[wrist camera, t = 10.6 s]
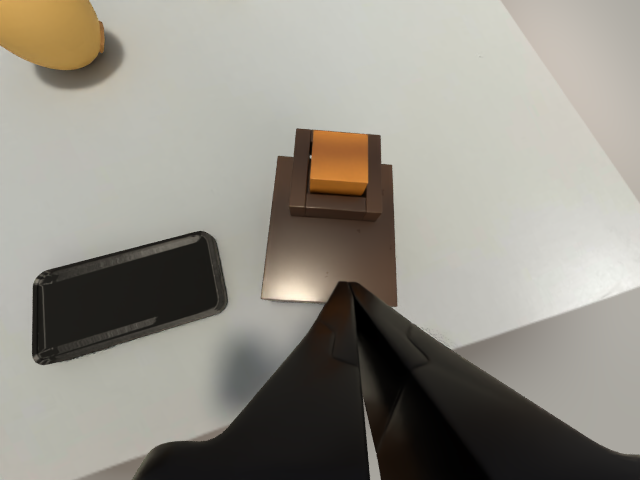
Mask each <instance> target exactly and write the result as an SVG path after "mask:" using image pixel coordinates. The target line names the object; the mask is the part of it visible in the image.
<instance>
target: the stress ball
mask: <svg viewBox="0 0 640 480" xmlns="http://www.w3.org/2000/svg"><path fill="white" fill-rule="evenodd" d="M104 41H105V38H104V27H103V24H102V22H101V21H98V18H97V15H96V13H95V11H94V9H93V7H92V5H91V3H90V2H89V0H0V45H1V46H2V47H4V48H5V49H7V50H8V51H10V52H11V53H13V54H15V55H17V56H19V57H21V58H23V59H24V60H27V61H29V62H32V63H34V64H37V65H40V66H43V67H46V68H52V69H57V70H74V69H79V68H82V67H85V66H87V65H88V64H90V63H91V62H92V61H93V60H94V59H95V58H96V57H97V55H98V53H99V52H100V53H103V51H104Z"/></svg>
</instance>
